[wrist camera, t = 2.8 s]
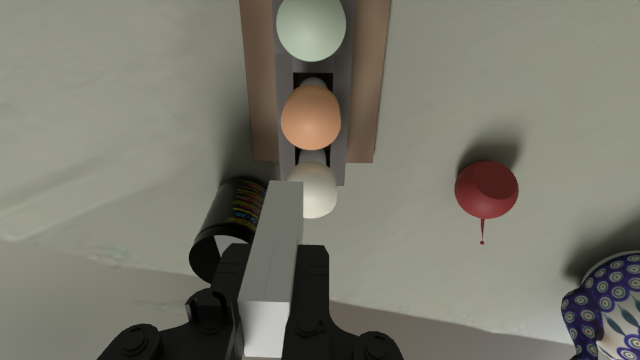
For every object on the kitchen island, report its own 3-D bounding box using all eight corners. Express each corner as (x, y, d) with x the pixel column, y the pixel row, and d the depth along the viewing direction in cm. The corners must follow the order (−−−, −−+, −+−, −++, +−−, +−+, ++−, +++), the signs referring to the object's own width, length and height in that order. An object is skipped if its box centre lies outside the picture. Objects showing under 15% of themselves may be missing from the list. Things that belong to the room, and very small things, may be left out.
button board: (255, 156, 38) (246, 184, 34) (238, -40, 29) (221, -40, 24) (371, 158, 38) (378, 186, 34) (392, -37, 29) (405, -36, 24)
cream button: (291, 174, 33) (285, 217, 28) (290, 135, 31) (282, 174, 26) (333, 175, 33) (336, 218, 28) (335, 136, 31) (338, 175, 26)
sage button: (287, 39, 27) (277, 61, 21) (285, -21, 25) (274, -15, 19) (339, 40, 27) (344, 62, 21) (342, -20, 25) (348, -14, 19)
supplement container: (218, 168, 39) (187, 230, 30) (279, 177, 40) (266, 241, 31) (216, 215, 43) (188, 283, 34) (272, 224, 43) (259, 292, 35)
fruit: (441, 179, 42) (452, 244, 38) (459, 153, 37) (473, 226, 33) (493, 180, 42) (508, 245, 38) (517, 155, 37) (538, 227, 33)
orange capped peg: (289, 114, 30) (281, 149, 25) (287, 66, 28) (279, 93, 22) (336, 115, 30) (339, 150, 25) (338, 67, 28) (342, 94, 22)
